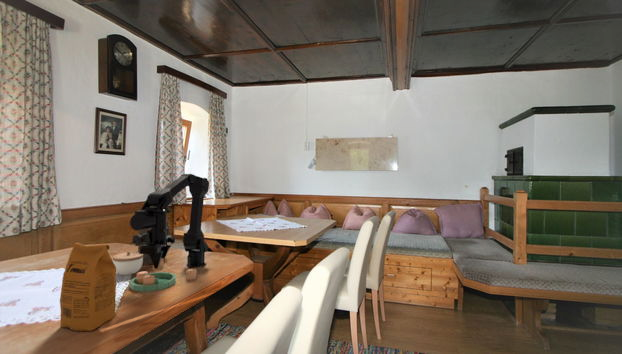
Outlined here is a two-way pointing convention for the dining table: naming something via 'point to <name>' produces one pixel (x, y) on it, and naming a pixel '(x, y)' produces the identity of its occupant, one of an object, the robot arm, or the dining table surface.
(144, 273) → the bead
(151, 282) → the bead
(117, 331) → the dining table surface
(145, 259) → the beer stein
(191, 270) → the bead
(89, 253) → the coffee package
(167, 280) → the ring tray
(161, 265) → the bead
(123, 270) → the lidded jar
